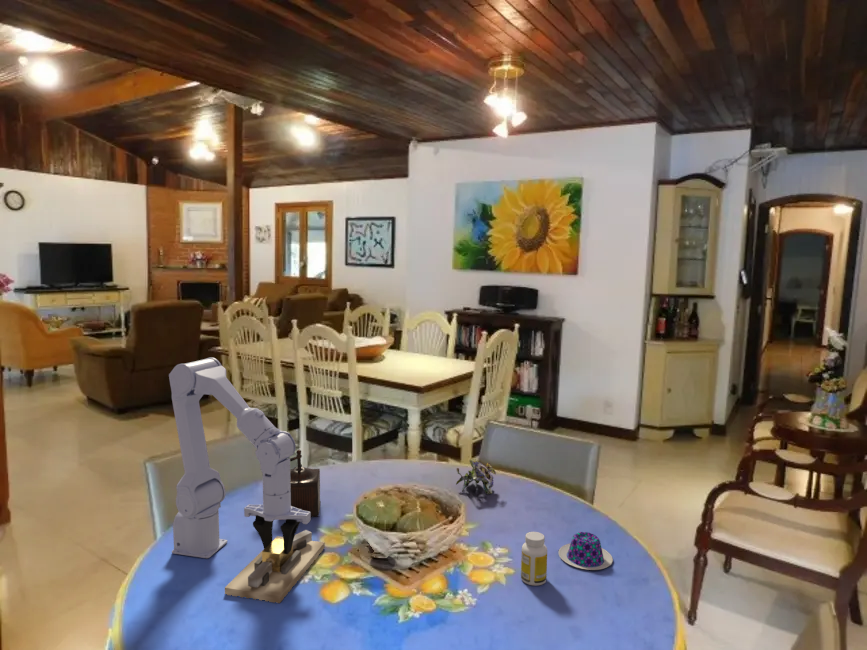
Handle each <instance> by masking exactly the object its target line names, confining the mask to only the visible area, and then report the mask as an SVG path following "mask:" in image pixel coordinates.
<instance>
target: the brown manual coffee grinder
mask: <svg viewBox="0 0 867 650" xmlns="http://www.w3.org/2000/svg"><path fill="white" fill-rule="evenodd" d="M302 457H303V456H302V450H301V449H297V450H296V456H293V457H289V458H290V462H293V461H295V460H297V466H296V467H294V468H292V469H291V468H290V481H291V506H292V507H295V508H298V509H301V510H304V511H309V512H311V518H318V517H319V515H320V508H321V503H322V502H321V469H320V468H309V467H304V466H303V465H302V460H301V459H302Z"/></svg>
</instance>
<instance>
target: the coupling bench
mask: <svg viewBox="0 0 867 650" xmlns="http://www.w3.org/2000/svg"><path fill="white" fill-rule="evenodd" d="M312 533H313V532H311V531H309V530H308V529H304V530H303V531H300V532H298V533H295V536H294V540H293V544H292V545H293V555H292V556H291V557H290V558H289V559H288V560H287V561H286V563H285V564H284V565H283V566H282V567H281V571H280V572H277V571H272V563H270V562H264V561H263V562H262V551H263V550H264V548H263V549H262V550H261V551H260V552H259V553H258V554H257V555H256V556H255V557H254V558H253V559H252V560H251V561H250V562H249V563H248V564H247V565H246V566H245V567H244V568H243V569H242V570H241V571H240V572H238V574H237V575H236V576H235V577H234V578H233V579H232V580H231V581H230V582H228V584H226V586H225V587H224V595H225V594H227V595H226V596H231V595H232V597H237V596H240V597H239V598H243V597H246V598H245V599H249V598H253V599H252V600H256V599H259V600H258V601H262V600H265V601H264V602H268V601H269V603H275V602H276V603H277V604H281V602H283V600H284V599H285V598H284V597H287V595H288V594H289V593H290V591H291V590H292V589H293V588H294V587H295V586H296V584H297V583H298V582H299V581H300V579H301V578H302V577H303V576H302V575H304V574H305V573H306V572H307V571H306V570H309V568H310V567H311V566H312V565H313V563H314V562H315V561H316V560H317V559H318V557H319V556H320V555H321V554H322V553H323V551H324V550H325V549H324V548H325V545H326V544H325V542H324V541H317V540H313V539H312ZM276 538H277V539H283V536H280V535H279V536H278V535H277V536H276V537H274V538H273V540H275V539H276ZM323 549H324V550H323ZM320 553H321V554H320ZM319 554H320V555H319ZM318 555H319V556H318ZM315 559H316V560H315ZM314 560H315V561H314ZM311 564H312V565H311ZM310 565H311V566H310ZM301 576H302V577H301ZM297 581H298V582H297ZM293 586H294V587H293ZM292 587H293V588H292ZM288 592H289V593H288Z"/></svg>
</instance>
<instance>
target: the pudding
mask: <svg viewBox="0 0 867 650" xmlns="http://www.w3.org/2000/svg"><path fill="white" fill-rule="evenodd" d="M558 556H559V558H560V559H561V560H562V561H563V562H565V563H566V564H568V565H570V566H572V567H575V568H577V569H581V570H588V571H589V570H590V571H598V570H603V569H606V568H608V567H610V566H611V565H612V564H613V561H614V559H613V556H612V554H611V553H610V552H608V551H607V550H606V549H604V548H603V547H602V544H601V540H600V538H599V537H598V536H597V535H596V534H594V533H590V532H588V531H585V532H583V531H578V532H577V533H575V534H573V535H572V538H571V541H570V543H567V544H564V545H562V546H561V547H560V548H559V550H558ZM602 562H603V563H602Z"/></svg>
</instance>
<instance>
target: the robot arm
mask: <svg viewBox="0 0 867 650" xmlns="http://www.w3.org/2000/svg"><path fill="white" fill-rule="evenodd" d="M168 377H169V378H168V379H169V385H170V391H171V401H172V408H173V412H174V419H175V424H176V430H177V434H178V437H177V438H178V442H179V447H180V455H181V460H182V465H183V469H184V474H183V475H182V476H181V478H180V480H179V481H178V483H177V484H176V486H175V487H176V497H175V506H176V509H177V510H178V511H177V513H176V514H175V516H174V519H173V524H172V528H173V529H172V531H173V532H172V534H173V535H172V536H173V549H172V550H171V553H172V554H175V555H180V556H181V555H182V556H187V557H188V556H189V557H194V558H202V559H209V558H211V557H212V556H213V555H214V554H216V552H217V551H219V550H220V549H221V548H222V547H224V546H225V545H226V544H227V543H228V539H223V538H220V517H219V516H220V515H219V513H220V511H219V509H220V508H221V503H222V502H223V501H224V500H225V499H226V492H227V490H226V486H225V485H224V482H223V481H222V479H221V475H220V472H219V471H218V470H216V469H214V468H212V467H211V465H210V458H209V452H208V447H207V442H206V434H205V430H204V423H203V418H202V413H201V407H200V405H201V404H200V400H201V399H202V397H204V395H209V396H211V395H212V396H213V397H214V398H215V399H216V400H217V401H218V402H219V403H220V404H221V405H222V406H223V407H224V408H226V409H227V410H228V411H229V412H230V413H231V415H233V416H234V417H235V418H236V428H237V429H238V430H239V431H240V432H241V433H242V434H243V435H244V436H245V438H246V439H247V440H248V441H249V442H250V444H252V445H253V447H254V448H255V449H256V450H255V452H254V453H255V457H256V459H257V461H258V462H259V465H260V467H259V468H260V471H261V473H262V504H248V505H246V506H245V507H243V509H244V510H243V512H244V515H243V516H244V517H246V518H249V517H255V519H254V520H253V521H252V527H253V528H254V529H255V530H256V532H257V534H258V535H259V536H258V537H259V539H260V541H261V544H262V546H263V549H265V548H266V547H267V546H268V545H269V544H270V543H271V542H272V541H273V526H274V521H276V520H283V521H285V522H284V523H282V524H281V525H280V531H281V534H282V537H283V540H284V554H288V553H289V552H290V551H291V549H292V544H293V540H294V536H295V535H296V534H297V531H298V528H299V526H300V524H301V523H302V524H303V525H308V523H310V522H311V521H312V519H311V518H312V517H311V512H309V511H304V510H301V509H298V508H295V507H292V506H291V481H290V470H291V461H290V458H291V457H292V456H293V455H294V454H295V451H296V447H297V445H296V442H295V441H296V440H295V439H294V437H293V436H292V434H291V433H290V432H288V431H286V430H281V428H277V427H276V426H275V425H274V424H273V423H272V421H270V420H269V419H268V417H267V416H266V414H265V412H263V411H262V410H260V409H259V408H257V407H250V406H249V405H248V403H247V402H246V401H245V400H244V398H243V397H242V395H241V394H240V393H239V392H238V391H237V389H236V388H235V386H234V385H233V384H232V383H231V381H230V380H229V378H227V369H226V368H225V367H224V366H223V365H222V363H221V362H220V361H219V360H218V359H217V358H215V357H212V356H211V357H207V358H204V359H203V358H202V359H200V360H199V359H198V360H196V361H191V362H186V363H178V364H175V366H174V367H173V369H172V370H171V371H170V373H168Z"/></svg>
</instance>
